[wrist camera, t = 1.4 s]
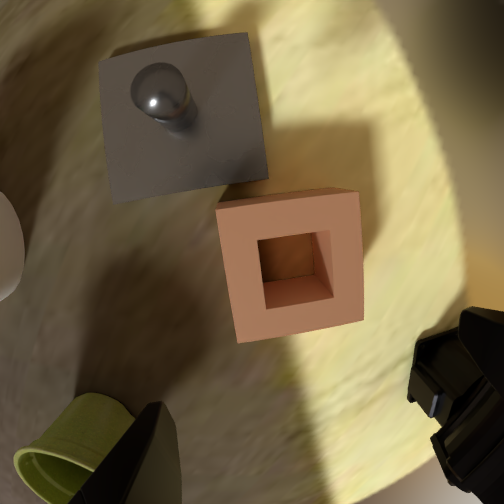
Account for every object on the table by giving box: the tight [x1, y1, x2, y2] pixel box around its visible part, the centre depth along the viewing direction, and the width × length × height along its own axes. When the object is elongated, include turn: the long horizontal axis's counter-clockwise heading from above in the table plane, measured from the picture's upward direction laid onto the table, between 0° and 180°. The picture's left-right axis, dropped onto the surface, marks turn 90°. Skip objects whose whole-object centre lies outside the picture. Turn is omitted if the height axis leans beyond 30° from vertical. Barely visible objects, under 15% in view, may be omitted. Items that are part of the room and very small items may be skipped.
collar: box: [216, 188, 364, 343], centre depth 18 cm, size 7×7×4 cm
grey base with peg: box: [99, 32, 269, 205], centre depth 14 cm, size 9×9×6 cm
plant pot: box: [14, 393, 135, 504], centre depth 18 cm, size 9×9×9 cm
